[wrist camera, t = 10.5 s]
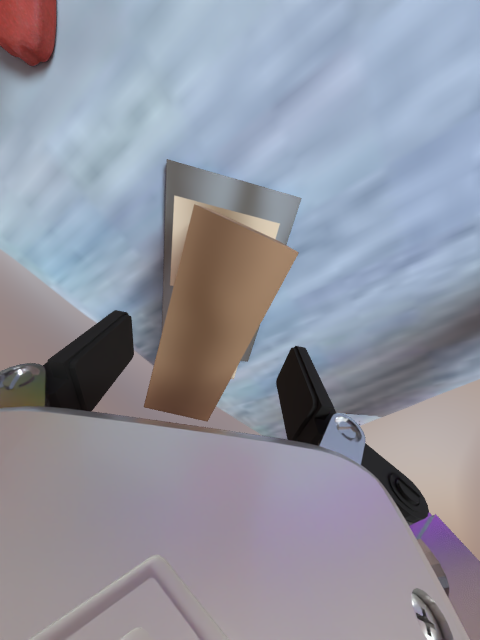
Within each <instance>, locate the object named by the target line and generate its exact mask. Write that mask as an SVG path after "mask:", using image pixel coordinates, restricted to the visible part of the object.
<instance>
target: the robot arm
mask: <svg viewBox="0 0 480 640" xmlns="http://www.w3.org/2000/svg"><path fill="white" fill-rule="evenodd" d="M133 355H134V348H133V334H132V320H131V316H129V315H128V313H127V312H122V311H117V310H115V311H113V312H112V313H110V314H109V315H108V316H106V317H105V318H104V319H102V320H101V321H100V322H98V323H97V324H96V325H94V326H93V327H92V328H90V329H89V330H88V331H86V332H85V333H84V334H82V335H81V336H79V337H78V338H77V339H75V340H74V341H73V342H71V343H70V344H69V345H67V346H66V347H65V348H63V349H62V350H61V351H59V352H58V353H57V354H55V355H54V356H52V357H51V358H50V359H48V362H47V363H46V364H45V365H43V366H42V365H40V364H35V363H27V364H20V365H16V366H13V367H9V368H7V369H5V370H2V371H1V372H0V640H480V561H479V560H478V559H477V558H476V557H475V556H474V555H473V554H472V553H471V552H470V550H469V549H468V548H467V547H466V546H465V545H464V544H463V543H462V542H461V541H460V540H459V539H458V538H457V537H456V535H454V533H453V532H452V531H451V530H450V529H449V528H448V527H447V526H446V525H445V524H444V523H443V522H442V520H441V519H440V518H439V517H438V516H437V515H433V516H432V515H431V514H430V513H429V510H428V505H427V503H426V501H425V498H424V497H423V495H422V494H421V492H420V491H419V489H418V488H417V487H416V486H415V485H414V484H413V482H412V481H410V480H409V479H408V478H407V477H406V476H405V475H404V474H402V473H401V472H400V471H399V470H397V469H396V468H395V467H394V466H393V465H391V464H390V463H389V462H388V461H386V460H385V459H384V458H383V457H381V456H380V455H379V454H378V453H376V452H375V451H374V450H373V449H372V448H370V447H369V446H368V445H367V444H366V443H365V435H364V432H363V431H362V429H361V427H360V426H359V425H358V424H357V423H356V422H355V421H354V420H353V419H352V418H350V417H348V416H347V415H344V414H341V413H336V412H335V410H334V407H333V405H332V402H331V400H330V398H329V396H328V394H327V392H326V390H325V388H324V386H323V384H322V381H321V379H320V377H319V375H318V373H317V371H316V369H315V367H314V365H313V363H312V360H311V358H310V356H309V354H308V352H307V350H306V348H303V347H298V346H295V347H294V348H291V350H290V352H289V354H288V356H287V358H286V360H285V362H284V365H283V367H282V369H281V371H280V373H279V375H278V378H277V381H276V384H277V389H278V394H279V399H280V404H281V409H282V414H283V419H284V424H285V429H286V434H287V439H288V440H286V439H280V438H274V437H267V436H260V435H254V434H247V433H240V432H233V431H226V430H220V429H213V428H206V427H199V426H192V425H186V424H178V423H171V422H164V421H157V420H150V419H142V418H136V417H129V416H121V415H114V414H107V413H99V412H91V411H92V410H93V409H94V407H95V406H96V405H97V404H98V402H99V401H100V400H101V398H102V397H103V396H104V394H105V393H106V392H107V391H108V389H109V388H110V387H111V385H112V384H113V383H114V382H115V380H116V379H117V377H118V376H119V375H120V374H121V372H122V371H123V370H124V369H125V367H126V366H127V365H128V363H129V362H130V361H131V359H132V358H133Z"/></svg>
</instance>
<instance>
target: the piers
mask: <svg viewBox="0 0 480 640" xmlns="http://www.w3.org/2000/svg"><path fill="white" fill-rule="evenodd" d="M300 201H301V198H299V197H296V196H292V195H289V194H286V193H282V192H279V191H275V190H272V189H268V188H265V187H261V186H258V185H254V184H251V183H247V182H244V181H241V180H237V179H234V178H230V177H227V176H223V175H220V174H216V173H213V172H209V171H206V170H203V169H199V168H196V167H192V166H189V165H185V164H182V163H178V162H175V161H171V160H168V159H167V166H166V201H165V237H164V272H163V307H162V331H163V327H164V323H165V319H166V315H167V311H168V307H169V303H170V299H171V295H172V291H173V287H174V283H175V279H176V275H177V271H178V267H179V263H180V259H181V255H182V251H183V247H184V243H185V239H186V235H187V231H188V227H189V223H190V219H191V215H192V211H193V207H194V204H195V205H199V206H202V207H206V208H209V209H212V210H214V211H216V212H218V213H220V214H222V215H224V216H227V217H229V218H231V219H233V220H235V221H237V222H239V223H241V224H244V225H246V226H248V227H250V228H252V229H254V230H256V231H259V232H261V233H263V234H265V235H267V236H269V237H271V238H274V239H276V240H278V241H280V242H281V243H283V244H285V245H286V244H287V241H288V238H289V235H290V232H291V229H292V226H293V223H294V220H295V217H296V214H297V210H298V207H299V204H300ZM259 326H260V325H259ZM258 329H259V327H258ZM258 329H257V331H256V333H255V335H254V336H253V338H252V340H251V342H250V344H249V346H248V347H247V349H246V351H245V353H244V355H243V357H242V359H241V361H247V362H248V359H249V356H250V353H251V350H252V347H253V344H254V341H255V338H256V335H257V332H258ZM236 370H237V368H236ZM236 370H235V372H234V373H233V375H232V377H231V379H234V376H235V373H236Z"/></svg>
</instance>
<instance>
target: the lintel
mask: <svg viewBox="0 0 480 640" xmlns="http://www.w3.org/2000/svg"><path fill="white" fill-rule="evenodd" d="M297 255H298V252H297V251H295V250H293V249H292V248H290V247H288V246H286V245H285V244H283V243H281V242H280V241H278V240H276V239H274V238H271V237H269V236H267V235H265V234H263V233H261V232H259V231H256V230H254V229H252V228H250V227H248V226H246V225H244V224H241V223H239V222H237V221H235V220H233V219H231V218H229V217H227V216H224V215H222V214H220V213H218V212H216V211H214V210H212V209H209V208H206V207H202V206H199V205H195V204H194V207H193V211H192V215H191V219H190V223H189V227H188V231H187V235H186V239H185V243H184V247H183V251H182V255H181V259H180V263H179V267H178V271H177V275H176V279H175V283H174V287H173V291H172V295H171V299H170V303H169V307H168V311H167V315H166V319H165V323H164V327H163V331H162V335H161V339H160V343H159V348H158V352H157V356H156V360H155V364H154V368H153V372H152V376H151V380H150V384H149V388H148V392H147V396H146V400H145V404H144V407H145V408H150V409H154V410H158V411H163V412H167V413H172V414H176V415H181V416H186V417H190V418H194V419H198V420H203V421H208V420H209V418H210V416H211V414H212V412H213V410H214V409H215V407H216V405H217V403H218V401H219V399H220V397H221V396H222V394H223V392H224V390H225V388H226V386H227V384H228V383H229V381H230V379H231V377H232V375H233V373H234V372H235V370H236V368H237V366H238V364H239V362H240V360H241V359H242V357H243V355H244V353H245V351H246V349H247V347H248V346H249V344H250V342H251V340H252V338H253V336H254V335H255V333H256V331H257V329H258V327H259V325H260V323H261V322H262V320H263V318H264V316H265V314H266V312H267V310H268V309H269V307H270V305H271V303H272V301H273V299H274V298H275V296H276V294H277V292H278V290H279V288H280V286H281V285H282V283H283V281H284V279H285V277H286V275H287V273H288V272H289V270H290V268H291V266H292V264H293V262H294V261H295V259H296V257H297Z"/></svg>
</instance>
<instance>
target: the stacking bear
mask: <svg viewBox="0 0 480 640" xmlns="http://www.w3.org/2000/svg"><path fill="white" fill-rule="evenodd" d="M55 33H56V0H0V46H1V47H2V48H3V49H5V50H6V51H7V52H8V53H10V54H11V55H13V56H15V57H19V58H21V59H22V60H23V61H24V62H26V63H27V64H28V65H30V66H34V65H37V64H38V63H39V62H46V61H47V60H48V59H49V58H50V56H51V54H52V52H53V49H54V42H55Z"/></svg>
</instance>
